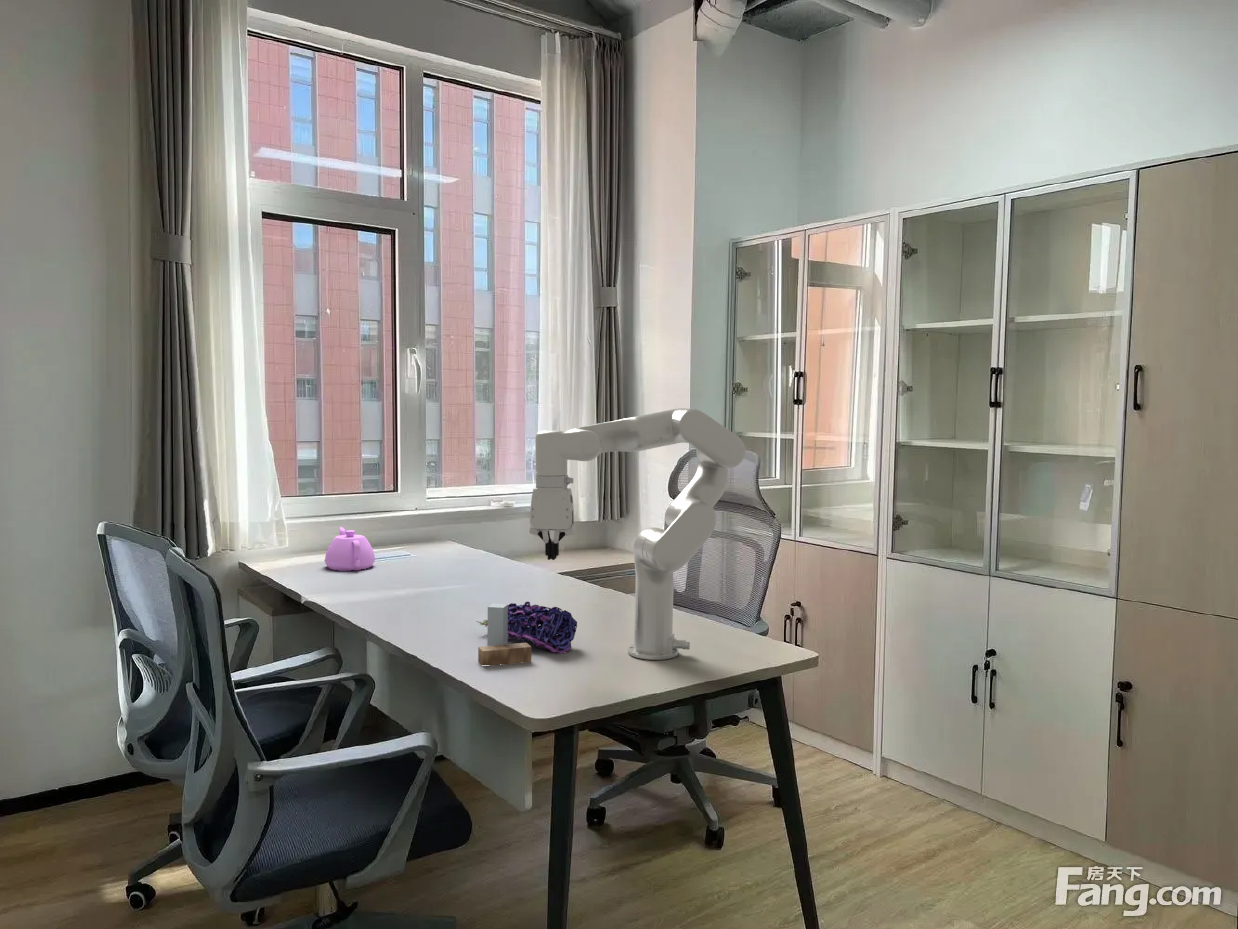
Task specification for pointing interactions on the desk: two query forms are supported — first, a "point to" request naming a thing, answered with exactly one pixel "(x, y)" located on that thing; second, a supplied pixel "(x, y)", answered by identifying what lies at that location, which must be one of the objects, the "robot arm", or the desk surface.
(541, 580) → the desk surface
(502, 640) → the grey block
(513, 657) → the walnut block
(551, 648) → the decorative ornament
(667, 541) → the robot arm
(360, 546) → the teapot
